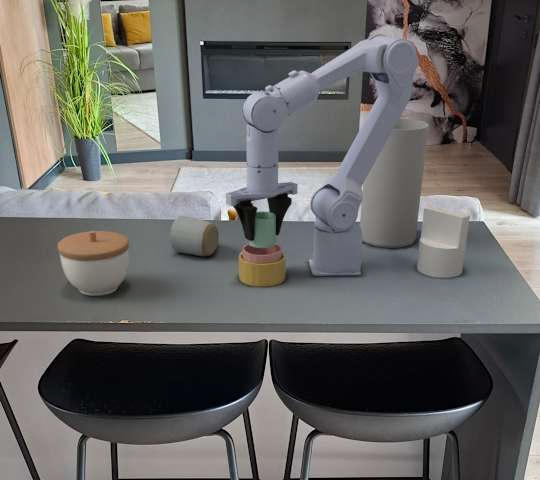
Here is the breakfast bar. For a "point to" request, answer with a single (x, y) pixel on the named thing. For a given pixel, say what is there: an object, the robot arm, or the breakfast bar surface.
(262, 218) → the mint cup
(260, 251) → the stack top
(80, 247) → the lidded bowl
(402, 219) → the cylinder vase
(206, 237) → the ceramic mug
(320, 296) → the breakfast bar surface
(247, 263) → the stack bottom
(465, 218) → the base with upright slab
